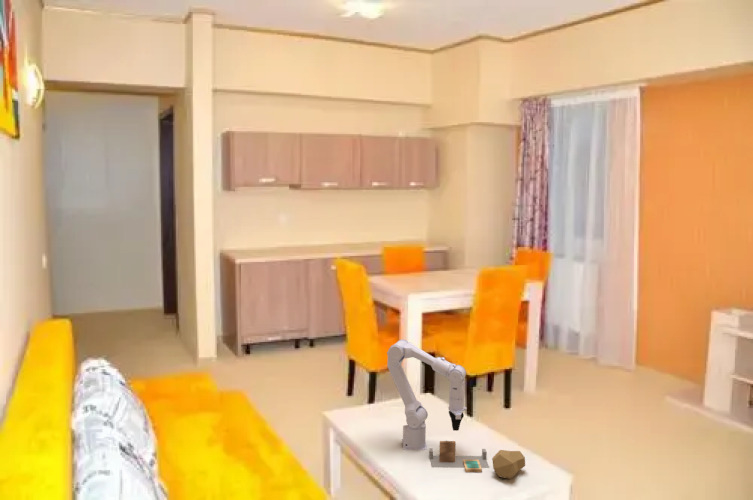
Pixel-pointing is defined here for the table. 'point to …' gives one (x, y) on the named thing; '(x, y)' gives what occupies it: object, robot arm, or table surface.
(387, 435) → the table surface
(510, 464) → the low-poly potato
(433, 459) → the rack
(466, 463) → the oak tile
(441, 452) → the walnut tile
